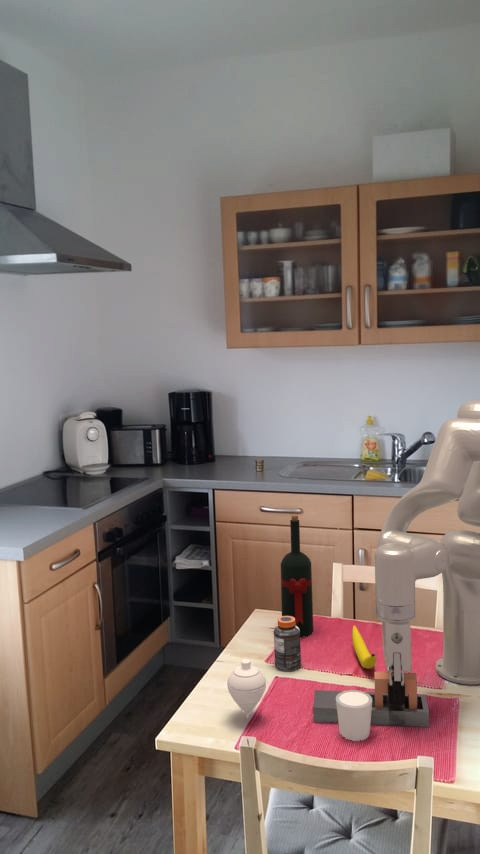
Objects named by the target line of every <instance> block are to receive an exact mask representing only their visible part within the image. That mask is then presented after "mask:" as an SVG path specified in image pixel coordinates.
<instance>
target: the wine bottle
mask: <svg viewBox="0 0 480 854" xmlns="http://www.w3.org/2000/svg"><path fill="white" fill-rule="evenodd" d="M290 516H291V517H290V518H291V519H290V520H289V521H290V523H289V525H290V552H288V553H287V554H285V555H284V557H283V558H282V560H281V562H280V592H281V593H280V594H281V596H280V597H281V598H280V599H281V600H280V601H281V617H282V616H292V617H294V618H295V622H296V624H295V626H297V627H298V628H299V630H300V637H302V638H304V637H303V636H307V637H309V636H311V635H313V633H314V608H313V607H314V606H313V605H314V604H313V580H312V579H313V577H312V561H311V559H310V557H308V555H306V554H305V553H304V552H302V551H301V535H300V519H299V515H298V514H290ZM312 632H313V633H312ZM310 634H311V635H310ZM308 635H309V636H308Z"/></svg>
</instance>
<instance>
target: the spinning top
mask: <svg viewBox="0 0 480 854" xmlns="http://www.w3.org/2000/svg"><path fill="white" fill-rule="evenodd" d="M251 661H252V660H251V659H248V658H244V659H241V660H240V664H241V665H238V666H236V667H234V669H233V670H232V671H231V672H230V674H229V676H228V678H227V684H226V685H227V690H228V693H229V694H230V697H231V698H232V699H233V701H234V702H235V703H236V705H237V706H238V707H239V708H240V709H241V710H242V711H243V713H244V714H245V715H246V718H247V719H249V718H250V717H249V716H250V713H252V711H254V709H255V708H256V706H257V705H258V703H259V702H260V701H261V699H262V697H263V696H264V693H265V691H266V688H267V679H266V676H265V675H264V673H263V672H262V670H261V669H260V668H259V667H257V666H255V665H252V662H251Z"/></svg>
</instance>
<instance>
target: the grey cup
mask: <svg viewBox="0 0 480 854" xmlns="http://www.w3.org/2000/svg"><path fill="white" fill-rule="evenodd" d="M342 691H343V692H341V693H339V694H338V695H337V696H336V705H337V713H338V722H339V723H338V727H339V728H338V729H339V735H340V734H341V735H342V736H343V737H345V738H346V739H350V740H352V741H351V742H361V741H364V740H366V739H368V738H369V736H370V733H371V725H370V723H371V711H372V697H371V696H370V695H369V694H367V693H365V692H366V691H361V690H357V689H349V690H342ZM341 735H340V736H341ZM342 736H341V737H342ZM343 737H342V738H343ZM345 738H344V739H345ZM346 739H345V740H346ZM350 740H349V741H350ZM360 740H361V741H360Z"/></svg>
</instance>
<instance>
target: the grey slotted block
mask: <svg viewBox="0 0 480 854" xmlns="http://www.w3.org/2000/svg"><path fill="white" fill-rule="evenodd" d="M343 691H344V690H342V691H341V690H325V689H321V690H320V689H319V690H318V689H315V690H314V695H313V704H312V705H313V706H312V718H313V720H312V721H313V723H325V722H328V723H330V722H333V723H332V724H339V722H338V713H337V705H336V696H337V695H338V694H339V693H341V692H343ZM364 692H365V693H367V694H369V695H370V696H371V697H372V711H371V723H370V726H375V725H376V726H394V727H395V726H398V727H399V726H400V727H417V728H420V727H421V728H429V727H430V710H429V705H428V699H427V694H426V693H425V694H424V693H417V709H408V695H407V694H405V704H389V703H388V694H383V708H375V691H374V692H373V691H371V692H370V691H364ZM335 722H336V723H335ZM330 724H331V723H330Z"/></svg>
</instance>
